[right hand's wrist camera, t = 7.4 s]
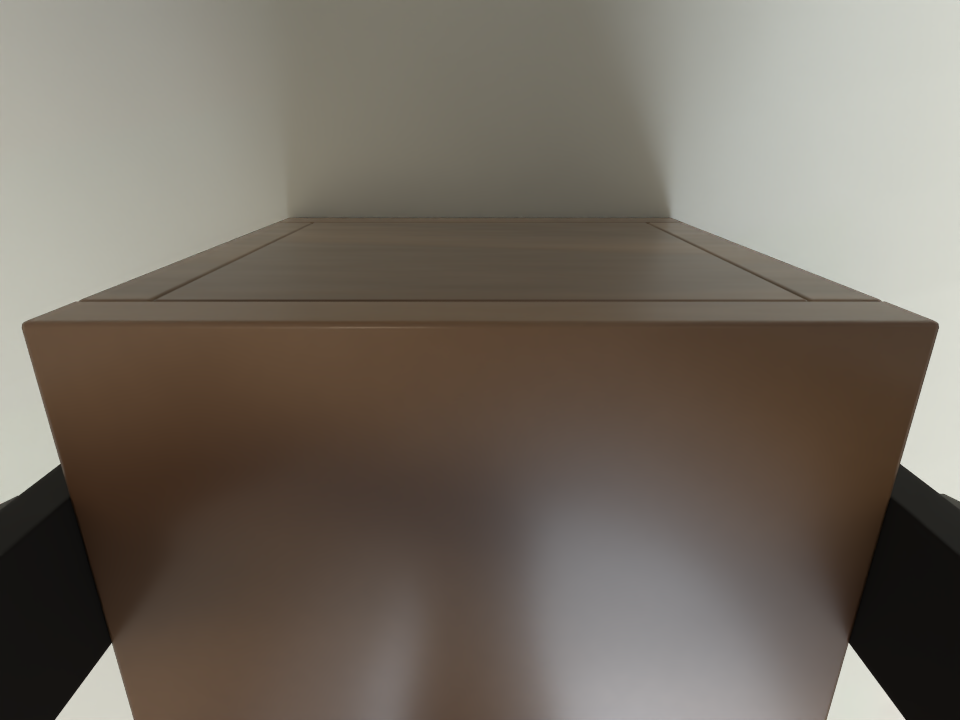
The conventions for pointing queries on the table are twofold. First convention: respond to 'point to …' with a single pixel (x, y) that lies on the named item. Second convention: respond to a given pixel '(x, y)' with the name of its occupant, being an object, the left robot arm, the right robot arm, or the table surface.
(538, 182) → the table surface
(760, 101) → the table surface
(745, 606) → the cabinet
